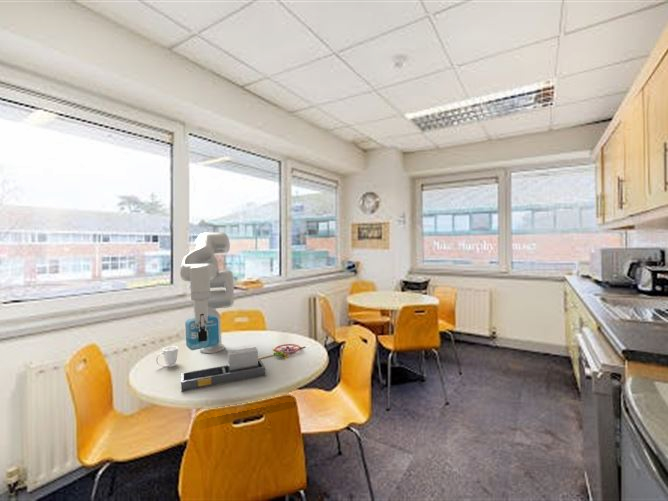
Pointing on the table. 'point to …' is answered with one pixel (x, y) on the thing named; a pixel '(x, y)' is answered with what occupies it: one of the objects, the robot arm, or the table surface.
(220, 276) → the robot arm
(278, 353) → the mechanical gear assembly
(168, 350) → the cup
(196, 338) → the data package
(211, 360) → the table surface
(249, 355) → the rack
